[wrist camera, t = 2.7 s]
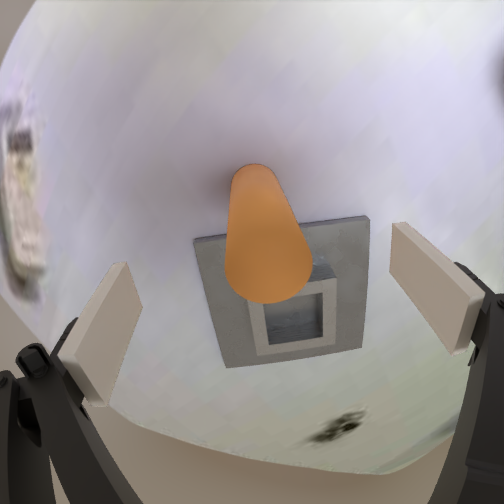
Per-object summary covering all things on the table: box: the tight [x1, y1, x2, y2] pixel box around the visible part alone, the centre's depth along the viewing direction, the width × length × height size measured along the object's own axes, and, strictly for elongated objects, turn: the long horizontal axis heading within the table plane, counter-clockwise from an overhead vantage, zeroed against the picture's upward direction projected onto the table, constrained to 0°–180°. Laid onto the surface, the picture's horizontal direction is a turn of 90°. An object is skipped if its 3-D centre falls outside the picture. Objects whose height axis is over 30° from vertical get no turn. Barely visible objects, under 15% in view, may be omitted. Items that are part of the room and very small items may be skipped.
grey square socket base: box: [194, 216, 370, 368], centre depth 31 cm, size 16×16×4 cm
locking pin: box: [225, 164, 313, 304], centre depth 21 cm, size 4×4×14 cm
